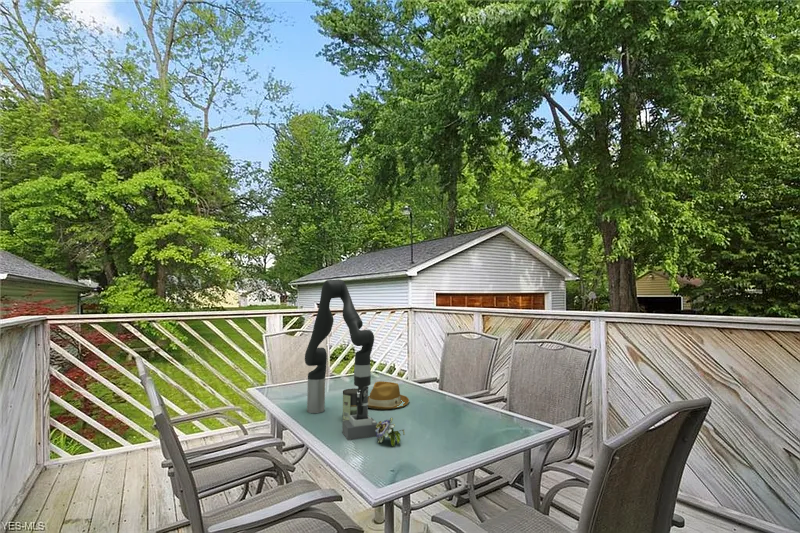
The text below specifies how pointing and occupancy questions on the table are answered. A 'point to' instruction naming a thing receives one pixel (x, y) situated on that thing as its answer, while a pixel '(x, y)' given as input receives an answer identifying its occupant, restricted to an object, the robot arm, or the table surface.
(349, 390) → the coffee can
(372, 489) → the table surface
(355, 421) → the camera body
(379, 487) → the table surface
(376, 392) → the fedora
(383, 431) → the passion flower
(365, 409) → the lens
